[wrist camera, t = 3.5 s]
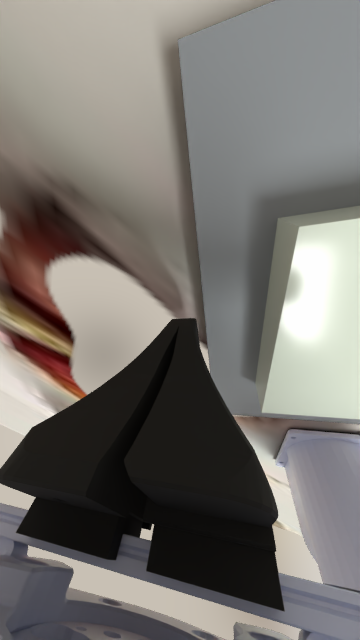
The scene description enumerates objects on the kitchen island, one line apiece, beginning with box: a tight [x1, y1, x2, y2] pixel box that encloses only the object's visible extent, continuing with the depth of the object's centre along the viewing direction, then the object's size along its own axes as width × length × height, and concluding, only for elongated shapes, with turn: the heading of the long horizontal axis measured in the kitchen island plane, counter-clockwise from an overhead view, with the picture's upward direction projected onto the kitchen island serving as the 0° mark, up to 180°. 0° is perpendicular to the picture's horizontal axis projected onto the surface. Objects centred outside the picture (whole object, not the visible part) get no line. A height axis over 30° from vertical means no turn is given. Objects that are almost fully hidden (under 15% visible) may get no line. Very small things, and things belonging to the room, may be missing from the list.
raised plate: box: [178, 0, 360, 424], centre depth 9 cm, size 19×12×2 cm, turn 9°
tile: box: [255, 206, 360, 419], centre depth 8 cm, size 10×6×2 cm, turn 9°
